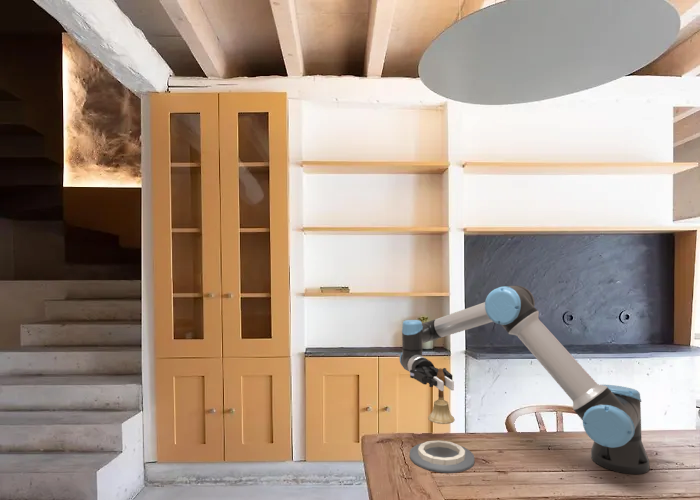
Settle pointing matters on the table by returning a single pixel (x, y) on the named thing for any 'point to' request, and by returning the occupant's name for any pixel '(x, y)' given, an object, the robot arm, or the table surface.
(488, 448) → the table surface
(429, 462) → the ring tray
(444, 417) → the hand bell
